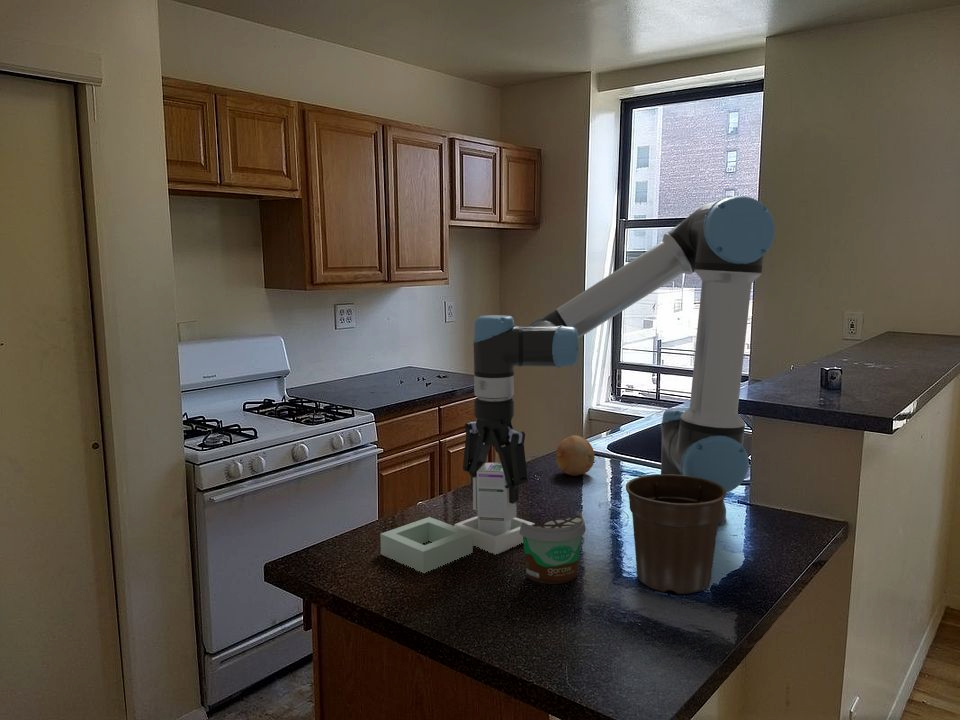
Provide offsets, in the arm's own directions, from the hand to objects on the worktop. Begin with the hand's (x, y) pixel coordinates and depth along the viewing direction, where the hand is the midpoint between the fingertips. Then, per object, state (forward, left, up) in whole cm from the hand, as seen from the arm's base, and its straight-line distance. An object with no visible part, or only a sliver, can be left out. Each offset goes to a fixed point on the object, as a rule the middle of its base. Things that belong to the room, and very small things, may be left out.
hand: (494, 513), depth 142 cm
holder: (0, 0, -5) cm, 5 cm away
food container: (-20, +5, -5) cm, 21 cm away
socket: (+4, +14, -5) cm, 15 cm away
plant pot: (-34, -8, -5) cm, 35 cm away
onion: (+14, -44, -5) cm, 46 cm away
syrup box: (0, 0, -5) cm, 5 cm away
